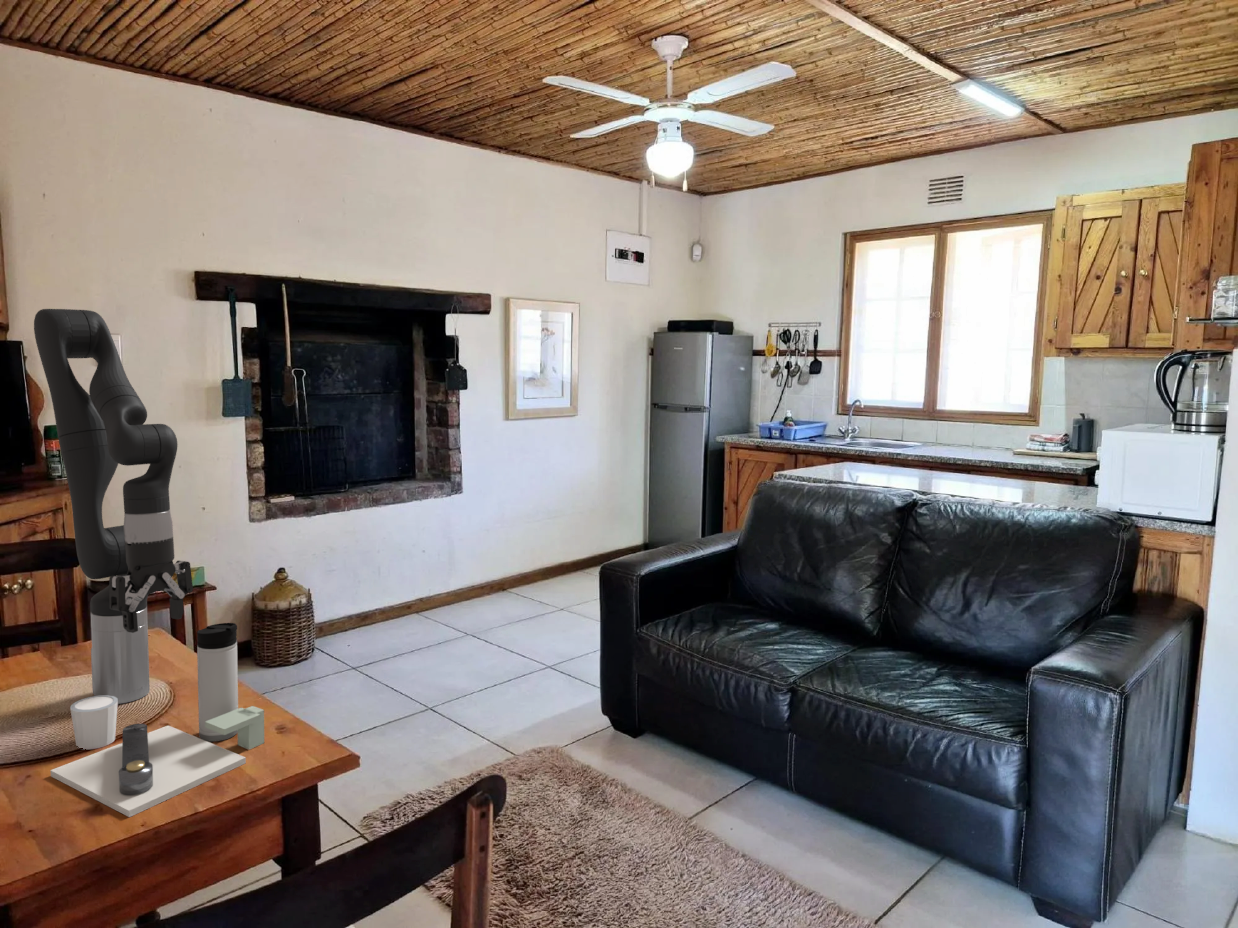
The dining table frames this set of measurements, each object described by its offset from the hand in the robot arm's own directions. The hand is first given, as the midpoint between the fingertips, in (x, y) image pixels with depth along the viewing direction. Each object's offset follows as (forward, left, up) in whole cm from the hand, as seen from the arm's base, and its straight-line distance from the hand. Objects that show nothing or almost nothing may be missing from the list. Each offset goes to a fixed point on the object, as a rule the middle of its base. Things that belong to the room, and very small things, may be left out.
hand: (154, 624), depth 146 cm
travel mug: (+15, +2, -18) cm, 23 cm away
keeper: (+22, 0, -18) cm, 28 cm away
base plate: (+17, -11, -18) cm, 27 cm away
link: (+16, -13, -17) cm, 26 cm away
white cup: (0, -11, -18) cm, 21 cm away
